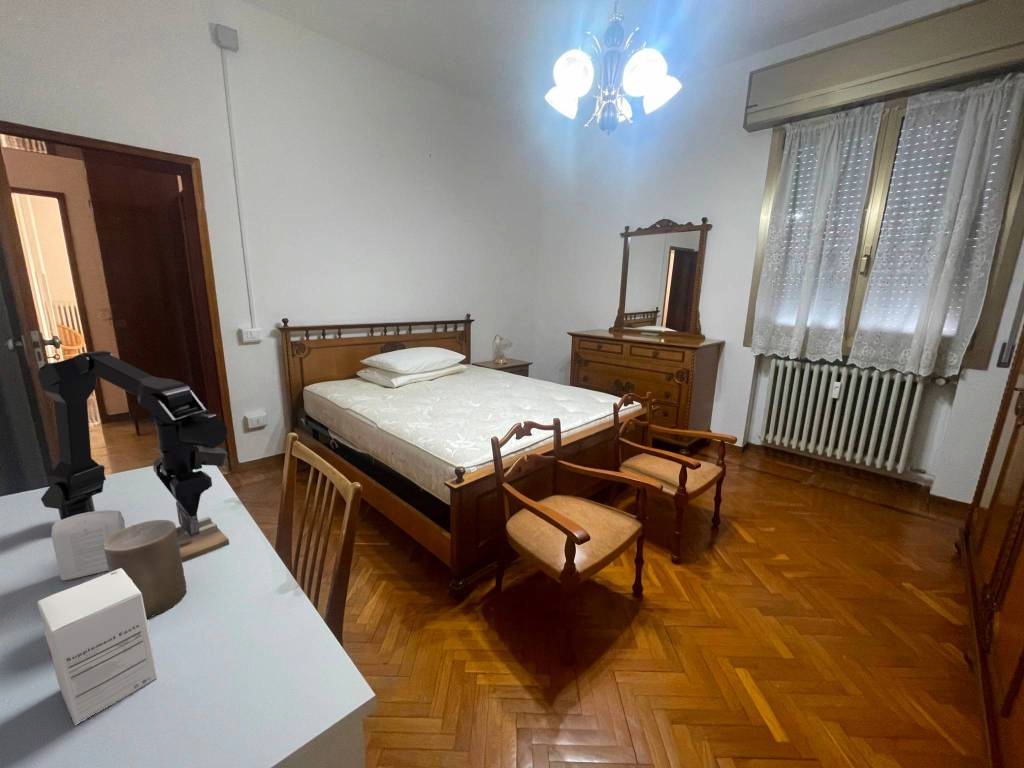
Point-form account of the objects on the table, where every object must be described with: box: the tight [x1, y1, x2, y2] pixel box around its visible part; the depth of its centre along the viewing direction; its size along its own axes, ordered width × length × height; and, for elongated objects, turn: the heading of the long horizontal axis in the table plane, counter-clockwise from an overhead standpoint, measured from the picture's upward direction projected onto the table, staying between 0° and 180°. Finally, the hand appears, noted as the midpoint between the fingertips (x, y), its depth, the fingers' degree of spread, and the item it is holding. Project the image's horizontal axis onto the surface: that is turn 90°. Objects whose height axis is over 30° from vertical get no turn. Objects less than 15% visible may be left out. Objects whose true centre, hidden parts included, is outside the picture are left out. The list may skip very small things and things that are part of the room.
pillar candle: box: [103, 519, 188, 619], centre depth 75 cm, size 10×10×15 cm
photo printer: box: [50, 509, 126, 581], centre depth 83 cm, size 10×4×12 cm, turn 123°
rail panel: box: [176, 516, 230, 564], centre depth 92 cm, size 14×12×3 cm
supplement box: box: [37, 568, 158, 725], centre depth 59 cm, size 9×9×15 cm
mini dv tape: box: [175, 500, 200, 537], centre depth 93 cm, size 8×2×6 cm, turn 53°
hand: (187, 508), depth 92 cm, fingers open, 9 cm apart
